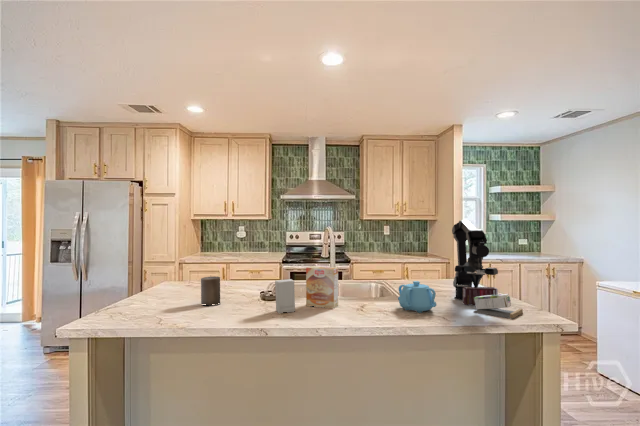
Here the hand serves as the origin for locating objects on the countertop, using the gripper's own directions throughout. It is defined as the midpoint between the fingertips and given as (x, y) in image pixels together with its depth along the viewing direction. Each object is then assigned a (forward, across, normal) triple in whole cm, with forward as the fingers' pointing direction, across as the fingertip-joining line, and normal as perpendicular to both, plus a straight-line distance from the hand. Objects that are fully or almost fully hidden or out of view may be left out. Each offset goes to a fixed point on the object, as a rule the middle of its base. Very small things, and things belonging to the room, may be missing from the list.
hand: (476, 287), depth 178 cm
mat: (+10, +10, 0) cm, 14 cm away
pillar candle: (+10, -102, -84) cm, 133 cm away
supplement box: (+6, +4, +16) cm, 17 cm away
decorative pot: (+10, -20, -21) cm, 31 cm away
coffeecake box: (+10, -58, -47) cm, 75 cm away
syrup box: (+7, 0, 0) cm, 7 cm away
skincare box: (+10, -62, -67) cm, 92 cm away
